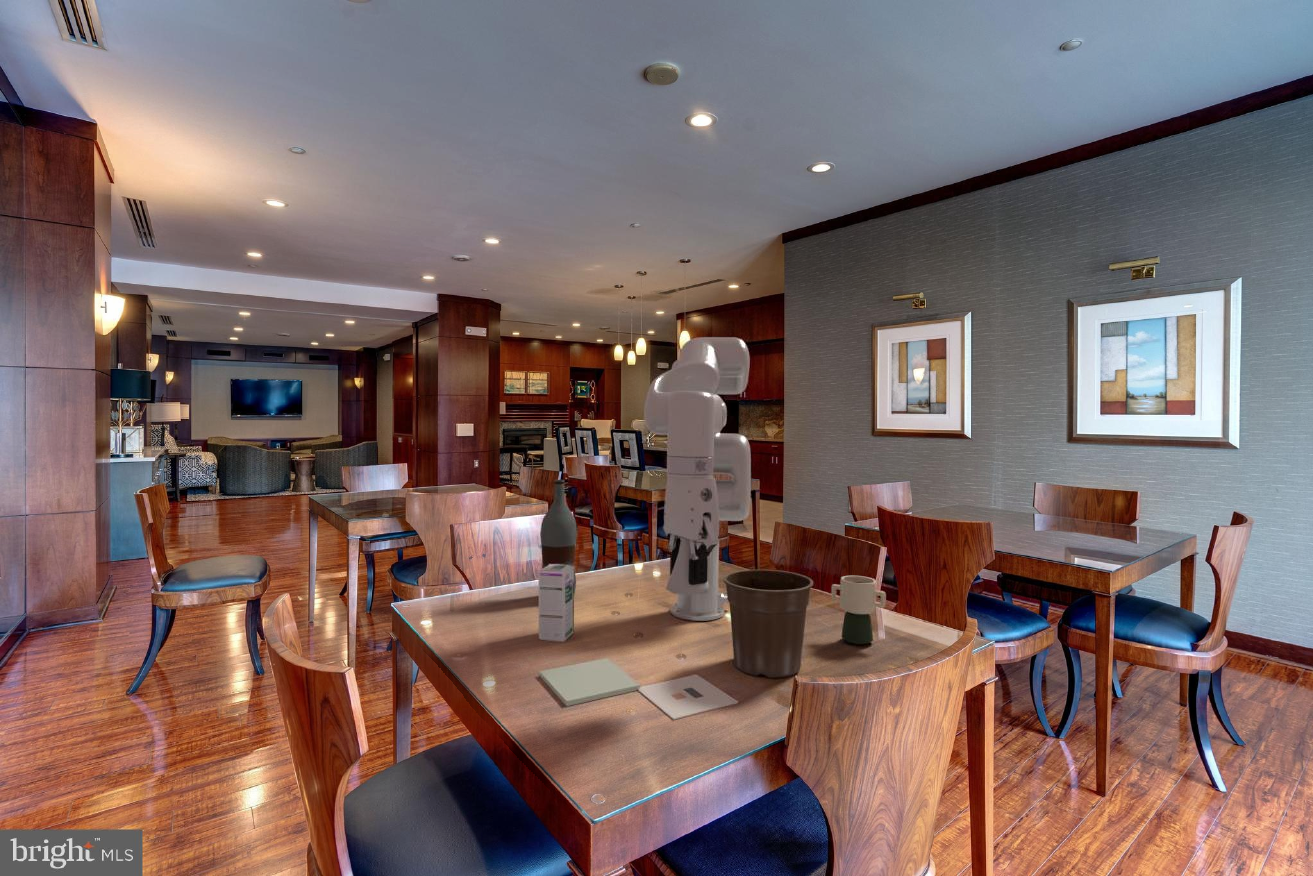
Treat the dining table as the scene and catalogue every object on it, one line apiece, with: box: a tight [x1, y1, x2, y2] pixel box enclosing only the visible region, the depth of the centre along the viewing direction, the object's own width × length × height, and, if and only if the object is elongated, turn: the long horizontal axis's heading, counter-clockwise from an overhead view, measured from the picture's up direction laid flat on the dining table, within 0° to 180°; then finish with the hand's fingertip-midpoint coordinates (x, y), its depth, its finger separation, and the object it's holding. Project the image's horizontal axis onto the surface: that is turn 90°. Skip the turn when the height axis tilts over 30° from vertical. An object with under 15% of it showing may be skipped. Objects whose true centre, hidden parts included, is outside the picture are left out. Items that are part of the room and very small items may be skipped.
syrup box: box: [538, 564, 575, 643], centre depth 125 cm, size 6×6×14 cm
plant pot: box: [723, 569, 814, 679], centre depth 111 cm, size 16×16×16 cm
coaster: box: [538, 658, 641, 707], centre depth 103 cm, size 13×13×1 cm
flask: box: [665, 538, 710, 595], centre depth 98 cm, size 7×7×10 cm
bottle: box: [539, 479, 578, 595], centre depth 152 cm, size 9×9×30 cm
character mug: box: [830, 575, 887, 645], centre depth 125 cm, size 11×7×13 cm, turn 58°
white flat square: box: [637, 674, 739, 721], centre depth 98 cm, size 12×12×1 cm
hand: (688, 578), depth 98 cm, fingers closed on flask, 4 cm apart
